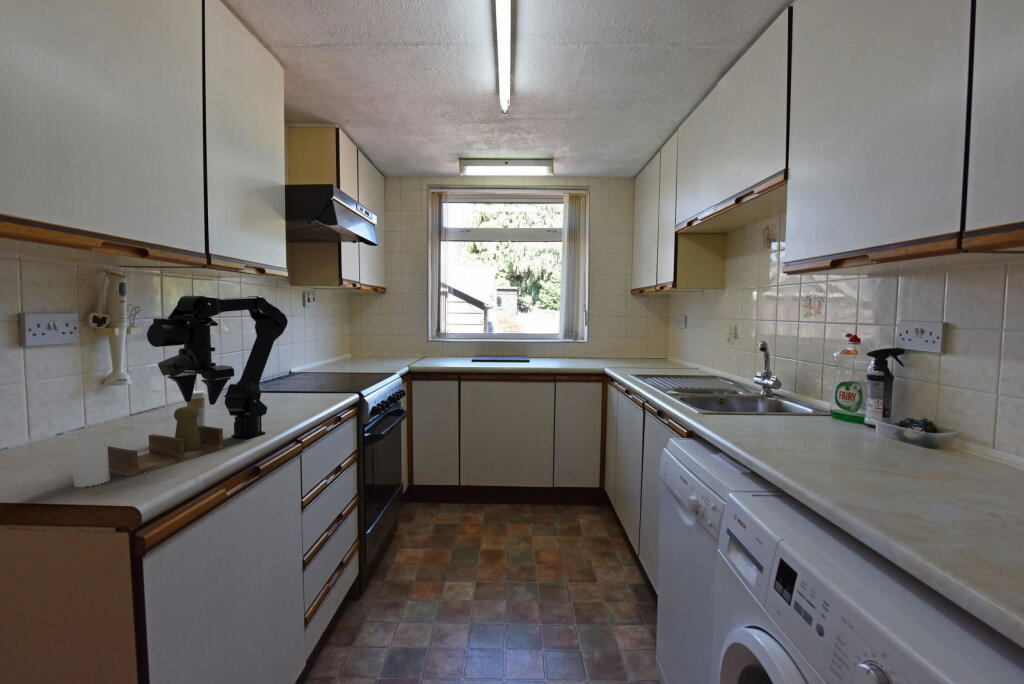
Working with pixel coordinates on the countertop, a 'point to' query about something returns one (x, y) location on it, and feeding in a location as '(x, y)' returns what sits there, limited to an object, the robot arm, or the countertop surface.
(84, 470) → the grey pointed block
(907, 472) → the countertop surface
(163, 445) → the rack
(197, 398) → the sprinkles bottle
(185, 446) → the olive bottle gourd
